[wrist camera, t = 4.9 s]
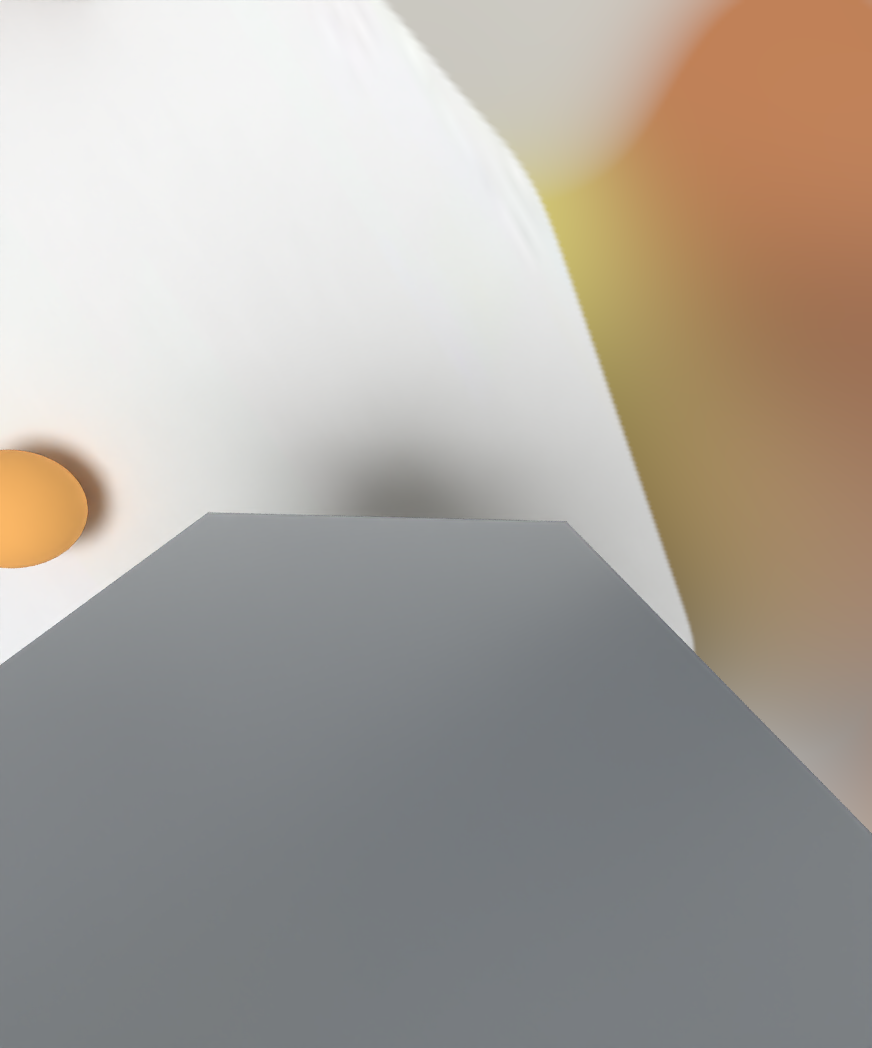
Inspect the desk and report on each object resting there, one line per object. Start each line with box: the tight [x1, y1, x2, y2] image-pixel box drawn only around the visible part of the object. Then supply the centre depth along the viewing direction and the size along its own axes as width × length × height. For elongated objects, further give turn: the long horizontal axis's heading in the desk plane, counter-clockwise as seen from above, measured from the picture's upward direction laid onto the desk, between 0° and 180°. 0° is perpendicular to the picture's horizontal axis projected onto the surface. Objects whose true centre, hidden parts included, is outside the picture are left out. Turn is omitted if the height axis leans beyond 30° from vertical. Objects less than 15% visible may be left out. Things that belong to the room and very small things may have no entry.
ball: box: [0, 450, 88, 568], centre depth 21 cm, size 5×5×5 cm
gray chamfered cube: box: [0, 513, 872, 1048], centre depth 8 cm, size 8×8×9 cm
